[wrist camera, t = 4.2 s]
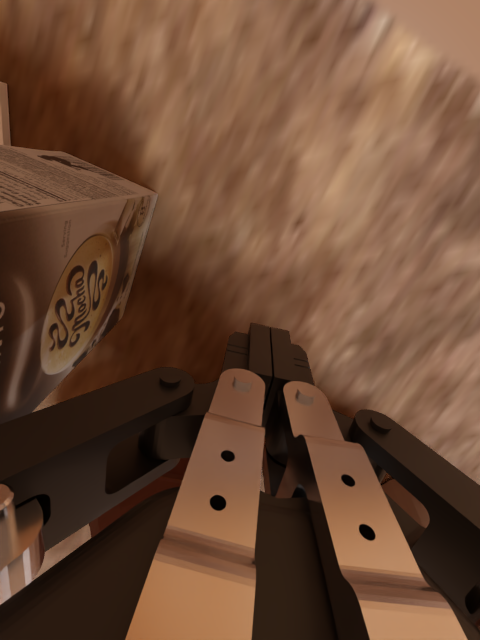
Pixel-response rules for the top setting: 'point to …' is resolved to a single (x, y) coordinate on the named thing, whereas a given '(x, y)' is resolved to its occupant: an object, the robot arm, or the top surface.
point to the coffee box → (61, 266)
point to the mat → (4, 116)
